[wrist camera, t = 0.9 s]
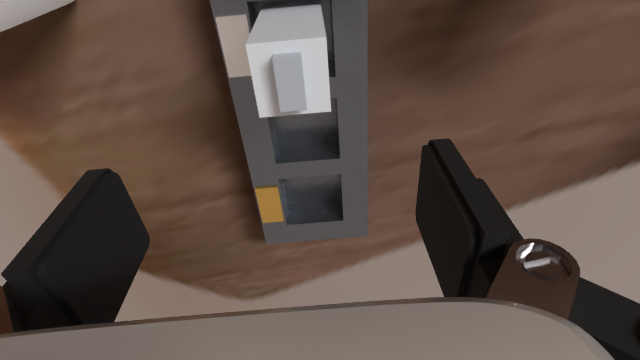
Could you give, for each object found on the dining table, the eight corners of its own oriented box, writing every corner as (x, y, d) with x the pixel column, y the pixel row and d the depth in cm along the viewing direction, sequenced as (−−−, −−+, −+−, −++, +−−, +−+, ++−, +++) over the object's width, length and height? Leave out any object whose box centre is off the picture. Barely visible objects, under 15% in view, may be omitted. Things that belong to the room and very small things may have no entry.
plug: (319, -2, 26) (327, 41, 17) (323, 54, 28) (332, 117, 20) (263, 3, 26) (243, 49, 17) (272, 59, 28) (258, 124, 20)
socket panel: (360, -57, 25) (368, -52, 22) (363, 213, 39) (368, 237, 36) (212, -43, 25) (200, -37, 22) (269, 220, 39) (266, 245, 36)
